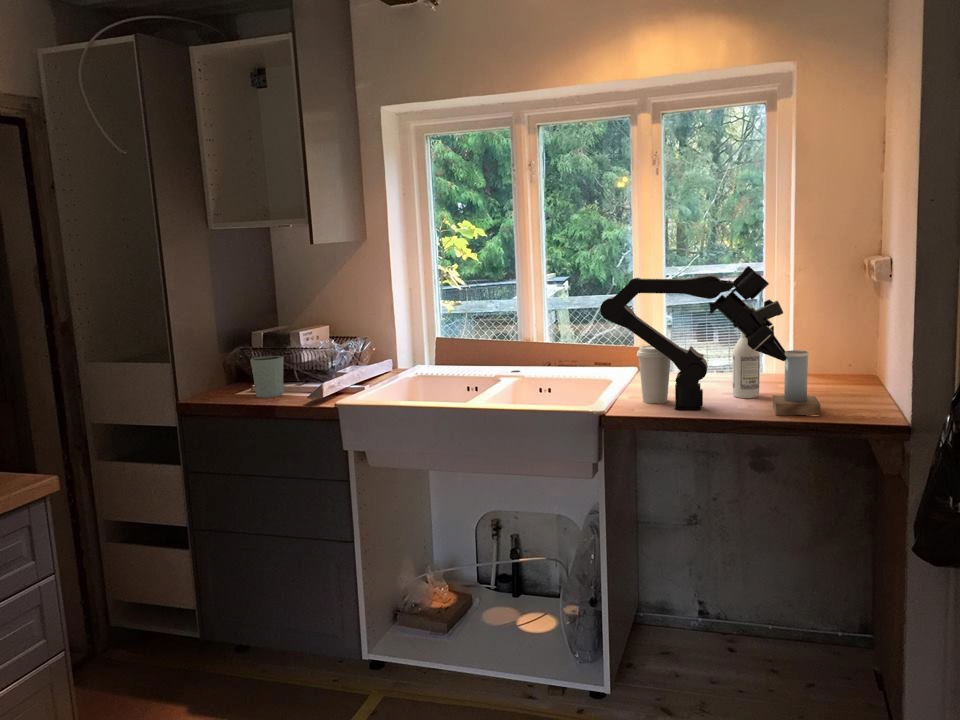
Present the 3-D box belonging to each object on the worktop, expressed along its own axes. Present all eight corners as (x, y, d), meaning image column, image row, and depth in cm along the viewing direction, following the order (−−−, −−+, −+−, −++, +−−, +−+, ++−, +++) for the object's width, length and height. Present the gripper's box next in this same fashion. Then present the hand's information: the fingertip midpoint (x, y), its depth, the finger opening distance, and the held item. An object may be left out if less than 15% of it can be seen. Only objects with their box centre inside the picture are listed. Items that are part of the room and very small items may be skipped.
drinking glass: (249, 398, 241) (245, 360, 239) (259, 392, 251) (256, 355, 249) (281, 397, 241) (278, 359, 239) (290, 391, 251) (287, 354, 249)
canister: (784, 401, 190) (785, 353, 188) (783, 397, 195) (784, 350, 193) (808, 402, 188) (809, 353, 187) (806, 397, 193) (807, 350, 192)
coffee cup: (666, 405, 205) (666, 350, 203) (632, 403, 210) (631, 348, 208) (677, 398, 213) (677, 345, 211) (644, 396, 218) (643, 344, 216)
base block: (775, 415, 189) (776, 403, 188) (772, 406, 198) (772, 395, 198) (820, 416, 186) (820, 404, 186) (814, 407, 195) (815, 395, 195)
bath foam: (764, 396, 211) (765, 323, 208) (746, 399, 208) (747, 326, 205) (744, 392, 217) (745, 322, 214) (727, 396, 214) (727, 324, 211)
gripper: (762, 293, 182) (812, 339, 180) (763, 287, 200) (808, 329, 197) (727, 326, 186) (775, 372, 184) (731, 317, 204) (775, 359, 201)
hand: (785, 357), depth 192 cm, fingers open, 9 cm apart
